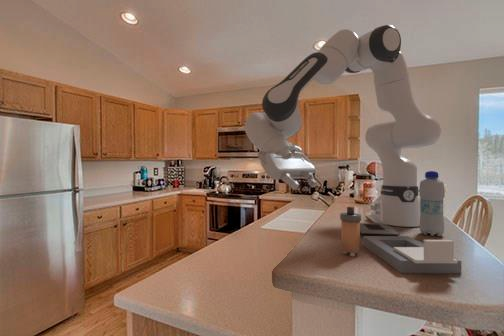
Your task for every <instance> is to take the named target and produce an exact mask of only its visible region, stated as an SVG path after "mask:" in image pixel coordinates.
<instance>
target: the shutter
mask: <svg viewBox="0 0 504 336" xmlns="http://www.w3.org/2000/svg"><path fill="white" fill-rule="evenodd" d="M423 244H424V247H394V250H395V251H396V252H398V253H400V254H401V255H403V256H405V257H406V258H408V259H410V260H411V261H413V262H415V263H457V260H456V259H457V258H456V259H454V258H455V256H454V255H455V254H454V253H455V252H454V251H455V250H454V247H455V246H454V245H455V244H454V240H451V239H423Z"/></svg>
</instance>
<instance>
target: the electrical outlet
mask: <svg viewBox="0 0 504 336" xmlns="http://www.w3.org/2000/svg"><path fill="white" fill-rule="evenodd" d="M360 234H362V235H363V236H401V234H400V233H399V232H397V231H396V230H395V229H393V228H392V227H391V226H390V225H387V224H380V223H374V222H372V223H370V222H368V223H367V222H360Z"/></svg>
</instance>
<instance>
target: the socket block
mask: <svg viewBox="0 0 504 336" xmlns="http://www.w3.org/2000/svg"><path fill="white" fill-rule="evenodd" d="M362 244H363V246H364V247H365V248H366V249H367V250H369V251H370V252H371V253H373V254H374V255H376V256H377V257H378V258H380V259H381V260H382V261H384V262H385V263H386V264H388V265H389V266H390V267H392V268H393V269H395V271H397V272H398V273H400V274H462V260H461V259H457V258H456V257H454V259H456V260H457V263H415V262H413V261H411V260H410V259H408V258H406V257H405V256H403V255H401V254H400V253H398V252H396V251H395V250H394V247H424V242H421V241H419V240H418V239H417V240H416V239H414V238H413V237H411V236H408V235H399V236H370V235H363V236H362Z"/></svg>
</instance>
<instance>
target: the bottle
mask: <svg viewBox="0 0 504 336" xmlns="http://www.w3.org/2000/svg"><path fill="white" fill-rule="evenodd" d="M424 177H425V179H423V180H420V182H419V187H418V190H419V192H418V196H419V198H420V226H419V230H420V231H419V232H420V233H421V234H423V235H425V236H428V235H429V234H430V236H431V237H434V236H435V235H436V237H440V236H443V234H444V232H445V222H444V221H445V219H444V198H445V197H446V195H445V193H446V191H445V183H444V181H442V180H440V179H439V173H438V171H433V170H428V171H426V172H425V173H424Z"/></svg>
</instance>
